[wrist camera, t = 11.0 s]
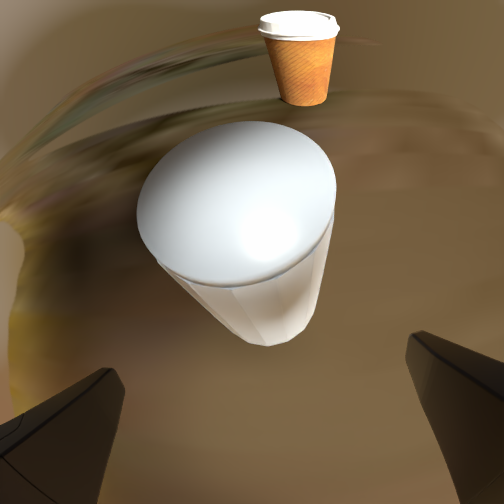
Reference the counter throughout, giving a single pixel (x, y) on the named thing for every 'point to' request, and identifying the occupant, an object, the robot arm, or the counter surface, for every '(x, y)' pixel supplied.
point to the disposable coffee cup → (300, 53)
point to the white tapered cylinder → (244, 225)
